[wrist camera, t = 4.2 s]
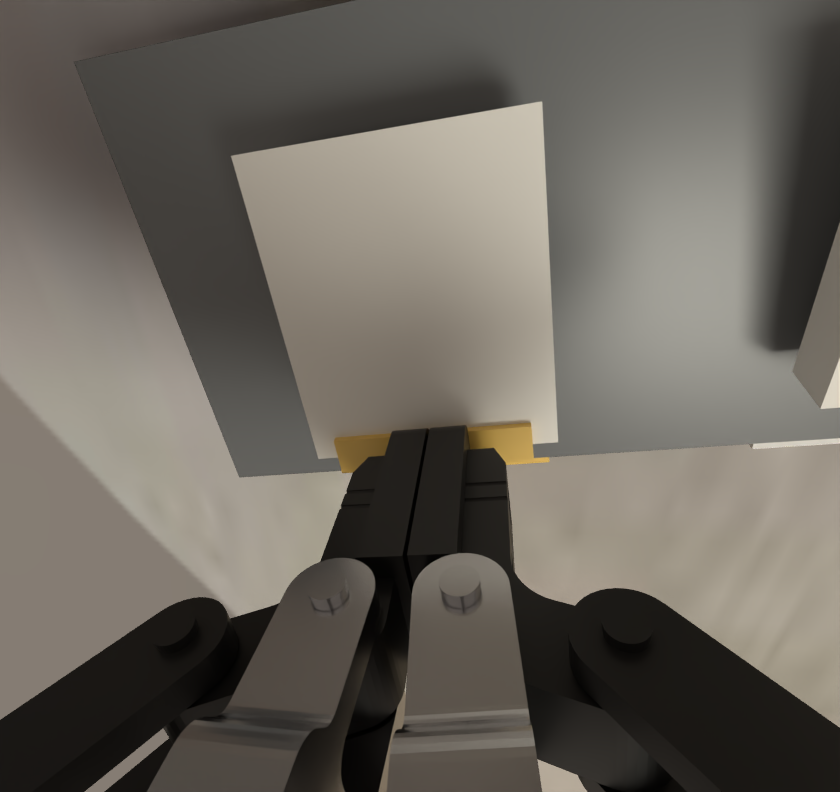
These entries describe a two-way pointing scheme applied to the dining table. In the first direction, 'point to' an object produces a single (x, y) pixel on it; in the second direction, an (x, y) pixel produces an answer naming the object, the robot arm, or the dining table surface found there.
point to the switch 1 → (413, 280)
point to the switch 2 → (823, 338)
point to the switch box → (565, 186)
